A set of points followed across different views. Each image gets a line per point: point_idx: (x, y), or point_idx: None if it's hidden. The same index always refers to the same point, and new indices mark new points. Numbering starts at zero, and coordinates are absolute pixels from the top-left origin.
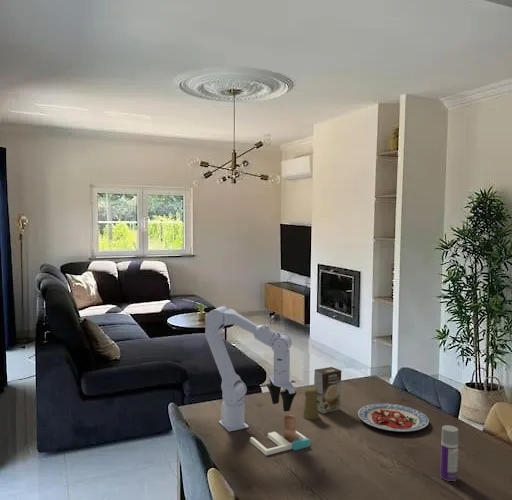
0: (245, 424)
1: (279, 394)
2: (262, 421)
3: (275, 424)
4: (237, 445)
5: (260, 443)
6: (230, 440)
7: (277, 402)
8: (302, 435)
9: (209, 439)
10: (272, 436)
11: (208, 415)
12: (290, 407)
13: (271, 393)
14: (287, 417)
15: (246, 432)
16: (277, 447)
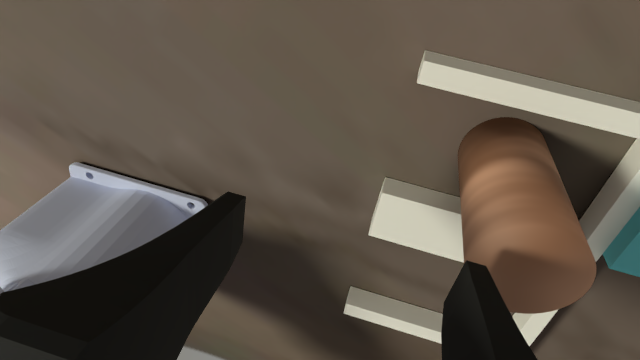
0: (176, 201)
1: (194, 249)
2: (165, 82)
3: (249, 48)
4: (338, 339)
5: (433, 330)
6: (281, 325)
7: (240, 212)
8: (595, 107)
9: (227, 353)
10: (421, 247)
11: (3, 223)
12: (498, 292)
13: (174, 352)
14: (510, 291)
15: (251, 240)
16: (541, 319)
